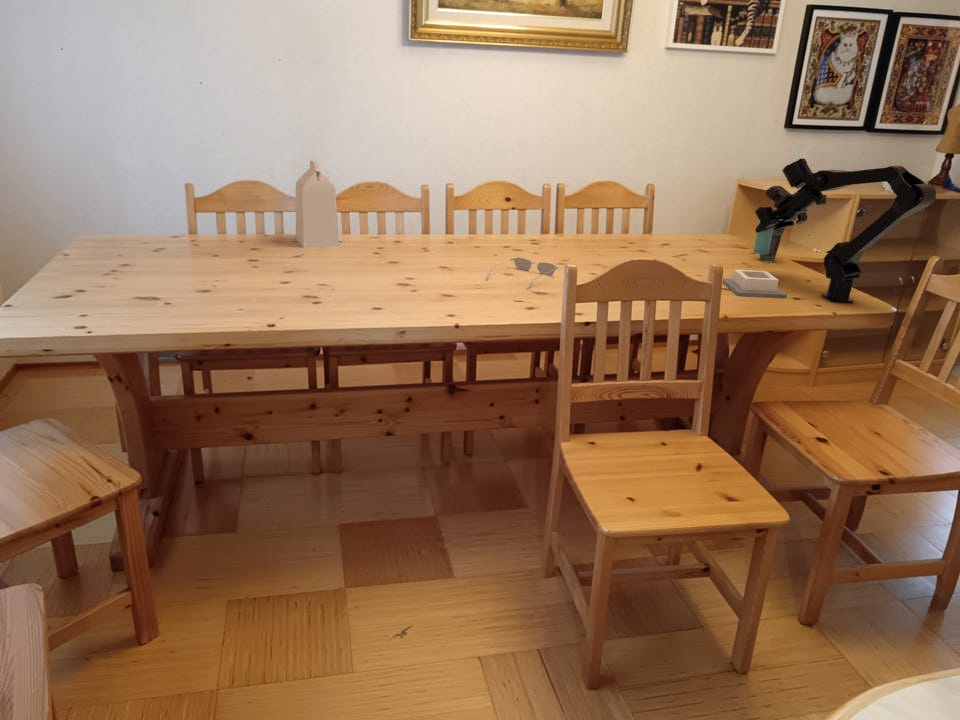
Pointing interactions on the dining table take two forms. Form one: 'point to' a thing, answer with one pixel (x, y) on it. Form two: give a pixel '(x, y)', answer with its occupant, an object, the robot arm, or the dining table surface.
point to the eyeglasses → (526, 265)
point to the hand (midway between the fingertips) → (761, 230)
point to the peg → (763, 241)
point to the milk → (316, 209)
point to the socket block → (754, 284)
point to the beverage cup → (773, 245)
